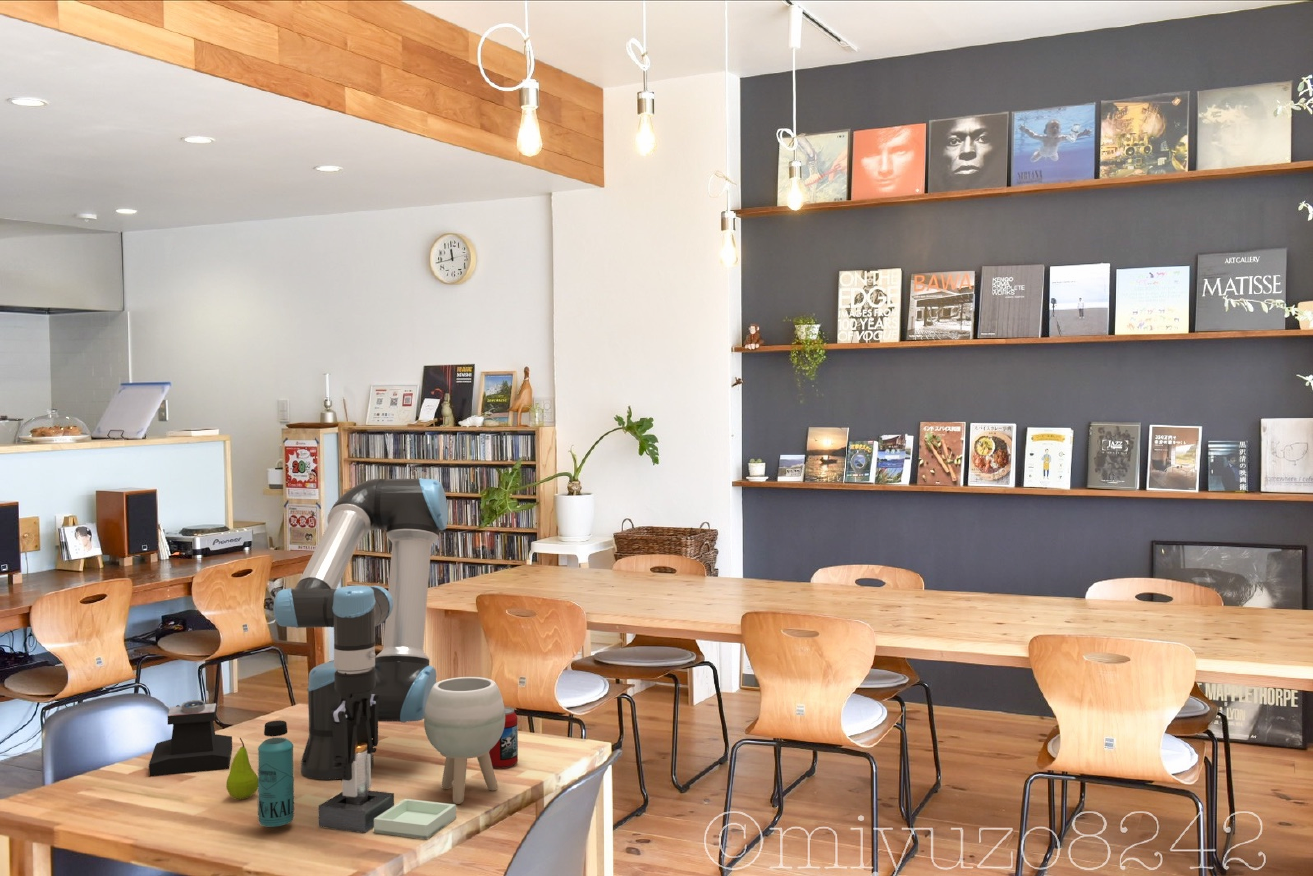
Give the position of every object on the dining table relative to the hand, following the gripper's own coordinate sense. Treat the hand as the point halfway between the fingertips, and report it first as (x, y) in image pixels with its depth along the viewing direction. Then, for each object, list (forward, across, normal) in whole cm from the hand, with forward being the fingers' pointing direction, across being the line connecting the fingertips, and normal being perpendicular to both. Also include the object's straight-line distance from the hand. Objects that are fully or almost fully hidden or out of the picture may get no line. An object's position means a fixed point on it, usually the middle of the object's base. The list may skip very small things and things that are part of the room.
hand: (356, 791), depth 211 cm
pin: (+5, 0, 0) cm, 5 cm away
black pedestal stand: (+6, +19, +54) cm, 58 cm away
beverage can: (+6, +38, -12) cm, 40 cm away
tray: (+6, +1, -12) cm, 13 cm away
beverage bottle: (+6, -8, +12) cm, 16 cm away
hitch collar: (+6, 0, 0) cm, 6 cm away
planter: (+6, +19, -13) cm, 24 cm away
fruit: (+6, +4, +29) cm, 30 cm away
